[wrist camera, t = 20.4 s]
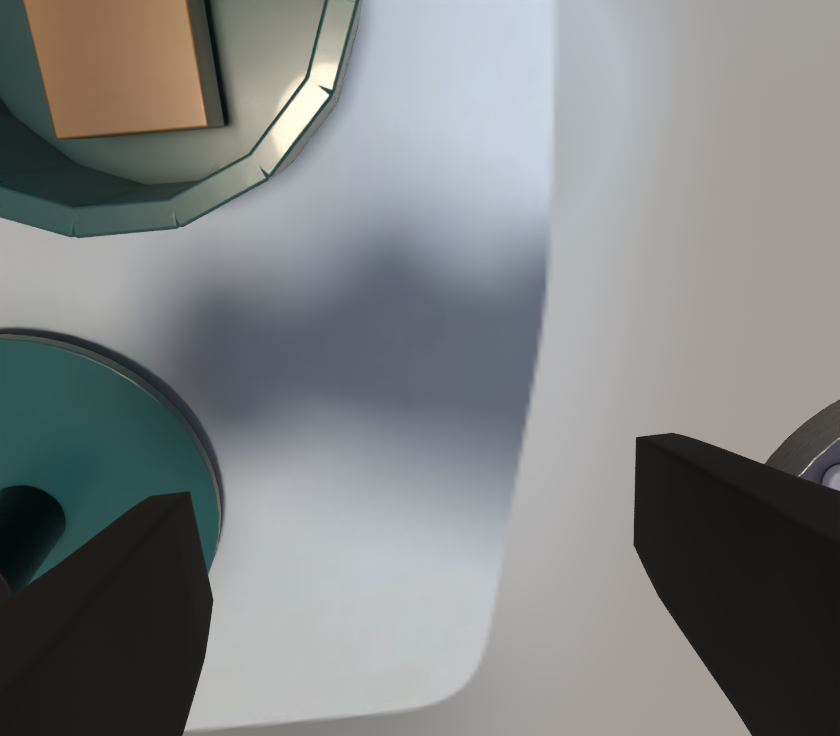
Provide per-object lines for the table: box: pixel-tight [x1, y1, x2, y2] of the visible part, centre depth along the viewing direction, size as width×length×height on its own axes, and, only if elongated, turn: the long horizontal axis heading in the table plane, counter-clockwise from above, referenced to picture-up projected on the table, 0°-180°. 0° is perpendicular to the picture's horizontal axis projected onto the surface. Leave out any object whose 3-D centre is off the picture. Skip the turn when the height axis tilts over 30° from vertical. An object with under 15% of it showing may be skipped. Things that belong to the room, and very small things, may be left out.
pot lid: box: [0, 334, 221, 604], centre depth 19 cm, size 11×11×5 cm
